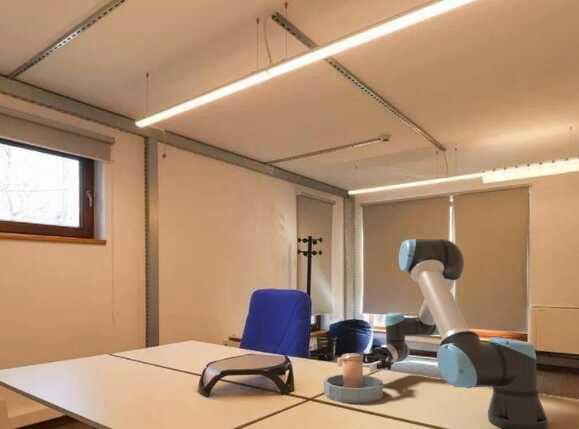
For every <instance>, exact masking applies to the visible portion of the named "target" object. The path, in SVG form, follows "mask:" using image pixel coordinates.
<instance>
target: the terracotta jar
mask: <svg viewBox="0 0 579 429" xmlns="http://www.w3.org/2000/svg"><path fill="white" fill-rule="evenodd" d="M357 353H358V352H357ZM357 353H356V352H351V353H349V352H348V353H343V354H341V357H342V360H343V366H342V374H343V388H363V375H364V363H363V355H361V354H357Z"/></svg>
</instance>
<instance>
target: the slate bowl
mask: <svg viewBox="0 0 579 429" xmlns="http://www.w3.org/2000/svg"><path fill="white" fill-rule="evenodd" d="M383 383H384V382H383V379H382V380H381V379H380V378H378V377H376V376H372V375H371V376H370V375H367V374H363V388H343V373H342V374H333V375H331V376H327V377H325V379H324V380H323V393H324V395H325V397H326V398H327V399H329V400H331V401H334V402H339V403H346V404H368V403H369V404H370V403H374V402H378V401H380V400H381V399H382V398H383V397H384V396H383V395H384V393H383V392H384V389H383V388H384V387H383V386H384V384H383Z"/></svg>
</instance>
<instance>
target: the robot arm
mask: <svg viewBox="0 0 579 429" xmlns="http://www.w3.org/2000/svg"><path fill="white" fill-rule="evenodd" d="M398 264H399V265H398V266H399V269H400V271H401V272H403V273H409V275H410V278H411V280H413V281H414V282H416V283H418V285H419V288H420V291H421V293H422V295H423V298H424V300H423V302H422V305H421V308H420V310H419V312H418V315H417V317H416V316H415V317H413V316H412V317H407V316H406V317H405V314H404V313H402V312H388V313H386V315H385V324H384V326H385V340H386V343H385V344H383V345H381V346H377V347H375V348H373V349H372V350H371V352H368V353H365V352H364V351H363V352H357V354H361V355H363V364H369V372H370V373H374V372H377V371H380V370H385V369H387V370H389V371H391V369H392V365H394V364H395V363H400V362H403V361H405V360H406V359H407V358H408V357H409V355H410V352H411V351H410V347H409V346H408V344H407V343H406V337H431V336H437V335H439V337H440V339H441V340H440V341H439V344H438V346H439V348H438V350H437V353H436V360H437V361H438V362H437V367H438V369H439V372H440V373H441V375H442V378H444V380H445V382H447V383H448V384H449V385H451V386H453V387H455V388H465V389H472V388H486V387H492V395H491V398H490V401H489V402H490V403H489V406H488V409H487V419H488V421H489V423H491V424H492V425H494V426H496V427H499V428H501V429H549V420H548V416H547V414H546V412H545V409H544V407H543V404H542V402H541V399H540V395H539V384H538V383H539V381H538V371H537V368H538V367H537V366H538V365H537V361H538V359H537V354H536V348H535V347H534V345H533V344H532V343H530V342H527V341H522V340H519V339H513V338H506V337H496V336H492V337H490V338H489V339H488V340H489V341H488V343H487V342H484V343H482V340H481V339H480V337H479V335H478V333H477V332H476V331H473V330H470V328H469V326H468V324H467V322H466V320H465V317H464V316H463V314H462V311H461V309H460V308H459V305H458V303H457V301H456V299H455V297H454V294H453V293H452V289H453V286H454V285H455V282H456V281H458V280H460V278H461V276H462V274H463V271H464V268H465V260H464V255H463V253H462V250H461V249H460V247H458V245H457V244H455V243H454V242H452V241H451V240H448V239H441V238H439V239H437V238H436V239H432V238H431V239H429V238H428V239H426V238H425V239H424V238H421V239H420V238H419V239H417V238H413V239H406V240H404V241H403V242H402V243H401V244H400V249H399V252H398ZM336 360H337V361H336V362H337V367H343V360H342V356H341V357H338V358H337V359H336Z"/></svg>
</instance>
